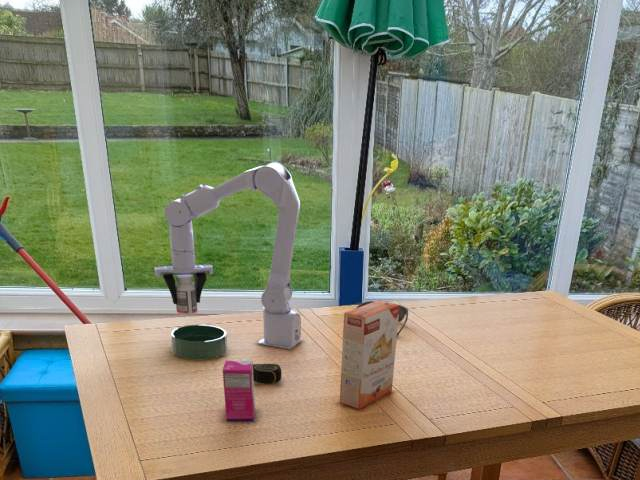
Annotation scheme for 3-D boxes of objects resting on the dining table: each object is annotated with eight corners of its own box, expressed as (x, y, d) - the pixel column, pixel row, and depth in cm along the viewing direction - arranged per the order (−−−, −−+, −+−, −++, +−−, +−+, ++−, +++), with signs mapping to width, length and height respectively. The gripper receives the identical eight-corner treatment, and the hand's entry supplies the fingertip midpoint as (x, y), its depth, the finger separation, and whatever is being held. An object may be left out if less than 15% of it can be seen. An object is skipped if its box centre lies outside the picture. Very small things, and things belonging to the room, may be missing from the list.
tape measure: (280, 376, 174) (280, 361, 172) (282, 387, 168) (282, 372, 166) (251, 376, 172) (251, 361, 171) (252, 387, 167) (251, 372, 165)
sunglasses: (411, 321, 218) (412, 305, 215) (399, 344, 204) (400, 328, 201) (358, 314, 220) (358, 299, 218) (343, 337, 207) (343, 320, 204)
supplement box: (227, 410, 155) (225, 359, 150) (255, 410, 156) (254, 359, 150) (224, 421, 150) (222, 369, 145) (253, 422, 151) (252, 370, 145)
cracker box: (361, 411, 159) (366, 317, 149) (338, 403, 162) (341, 311, 151) (394, 392, 170) (400, 303, 159) (372, 385, 172) (377, 298, 162)
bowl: (236, 348, 189) (235, 329, 186) (210, 364, 177) (209, 345, 175) (190, 340, 192) (189, 321, 189) (162, 356, 180) (160, 336, 178)
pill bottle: (192, 309, 196) (189, 272, 191) (201, 314, 193) (198, 277, 188) (173, 312, 193) (170, 275, 188) (182, 317, 190) (179, 279, 185)
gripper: (207, 245, 191) (210, 296, 197) (150, 247, 185) (155, 299, 192) (213, 251, 185) (216, 303, 192) (155, 253, 180) (160, 307, 186)
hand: (186, 302), depth 191 cm, fingers closed on pill bottle, 5 cm apart
